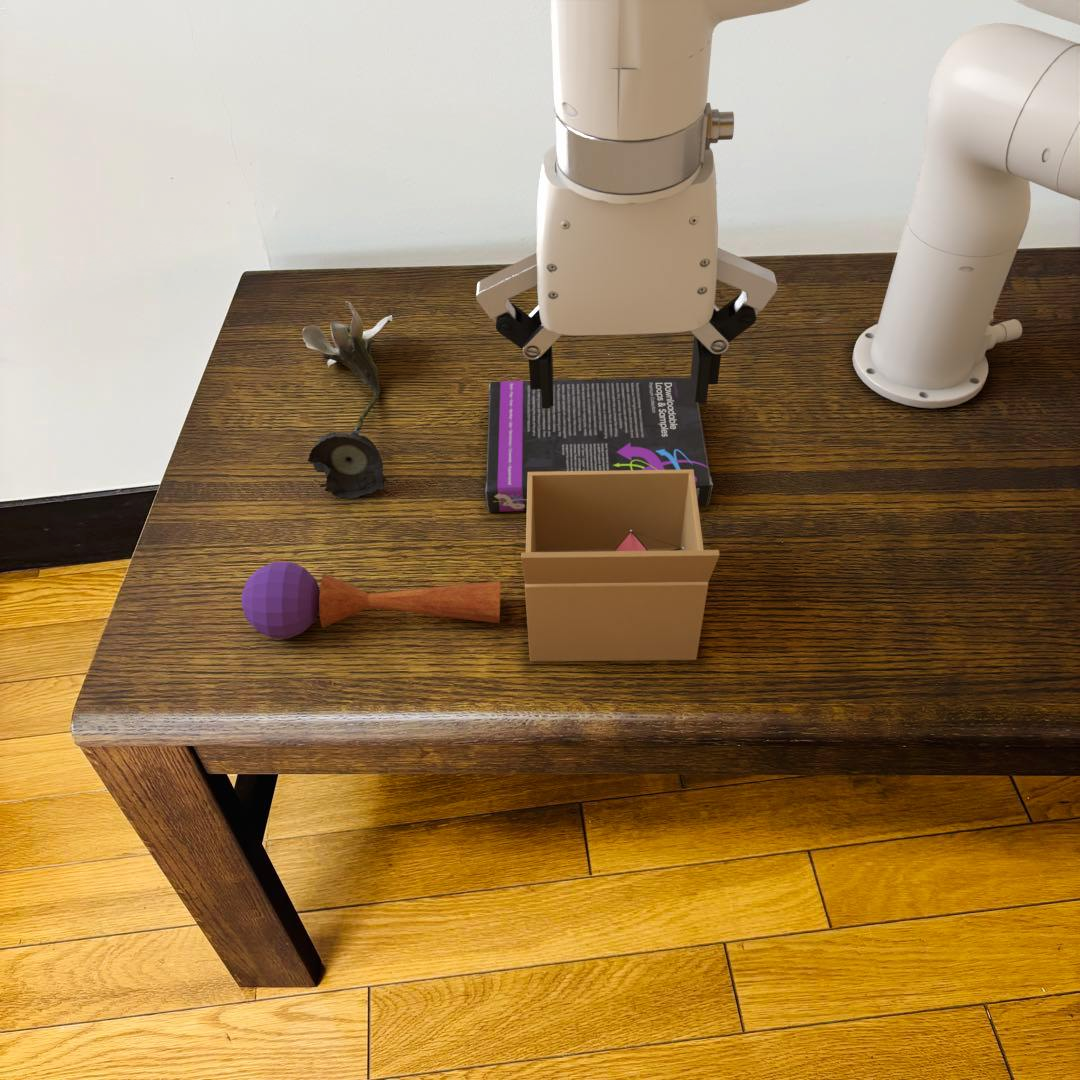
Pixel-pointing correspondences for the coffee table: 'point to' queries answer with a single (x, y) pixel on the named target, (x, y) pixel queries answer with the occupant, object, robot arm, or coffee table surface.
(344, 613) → the kendama
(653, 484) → the carton
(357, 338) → the artificial flower
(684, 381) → the box
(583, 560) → the flap
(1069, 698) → the coffee table surface
